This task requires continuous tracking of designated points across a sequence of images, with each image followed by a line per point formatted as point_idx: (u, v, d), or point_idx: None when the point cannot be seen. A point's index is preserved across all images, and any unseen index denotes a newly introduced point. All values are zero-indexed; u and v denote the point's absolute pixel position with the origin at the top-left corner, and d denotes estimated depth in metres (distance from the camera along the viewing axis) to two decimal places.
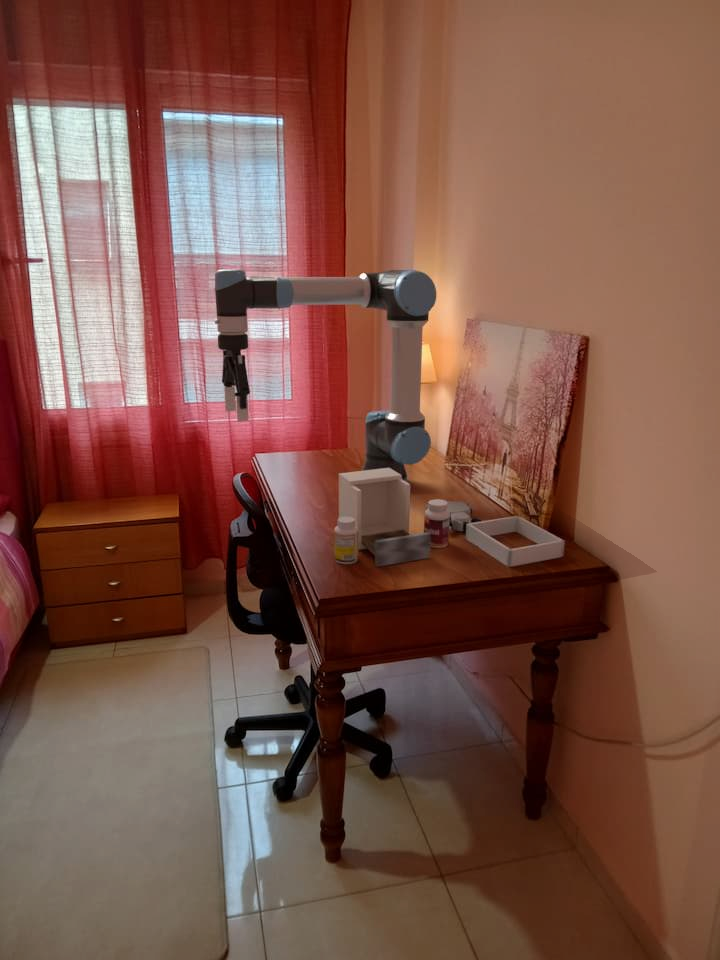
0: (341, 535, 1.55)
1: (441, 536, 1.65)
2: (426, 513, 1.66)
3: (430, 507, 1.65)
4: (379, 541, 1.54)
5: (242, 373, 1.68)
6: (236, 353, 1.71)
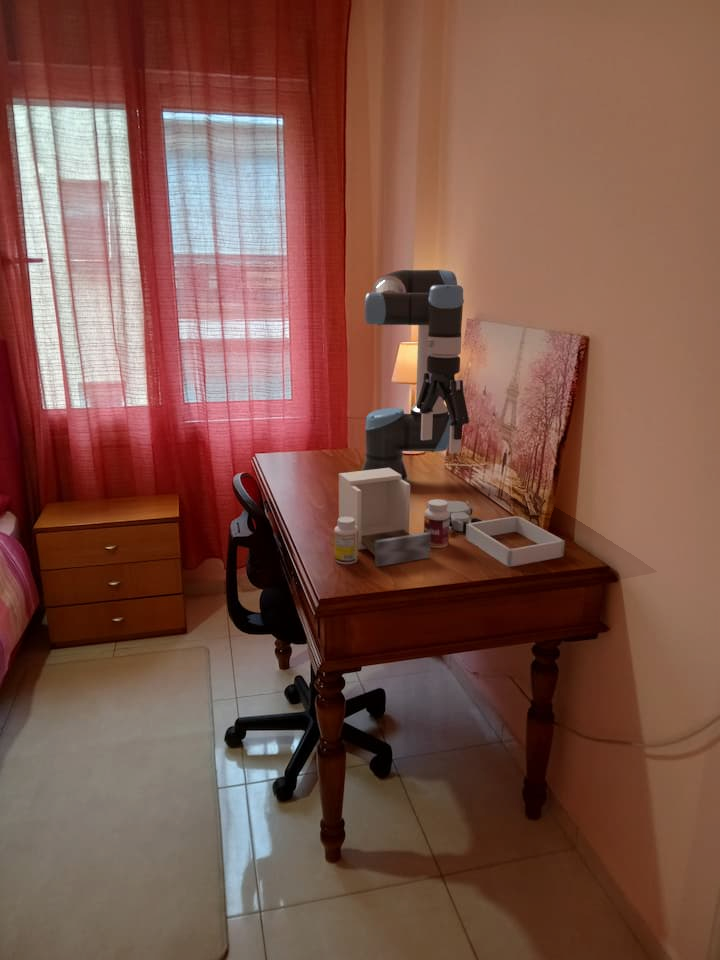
0: (341, 535, 1.55)
1: (441, 536, 1.65)
2: (426, 513, 1.66)
3: (430, 507, 1.65)
4: (379, 541, 1.54)
5: (460, 400, 1.51)
6: (450, 378, 1.53)
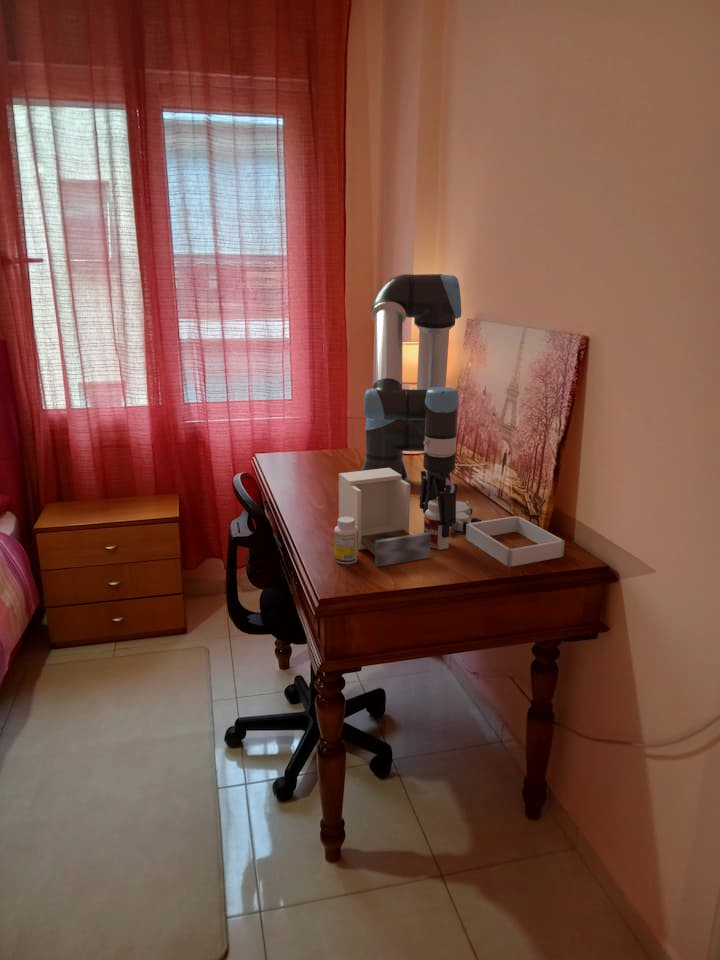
0: (341, 535, 1.55)
1: None
2: (426, 513, 1.66)
3: (430, 507, 1.65)
4: (379, 541, 1.54)
5: (451, 503, 1.60)
6: (446, 476, 1.60)
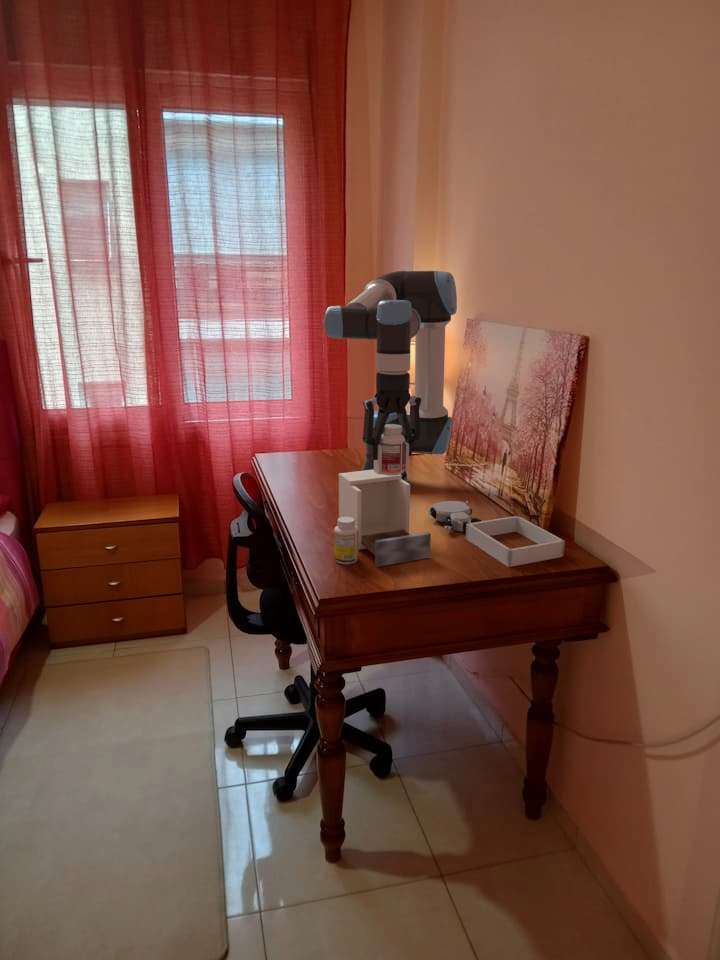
0: (341, 535, 1.55)
1: None
2: None
3: None
4: (379, 541, 1.54)
5: (366, 421, 1.53)
6: (377, 393, 1.52)
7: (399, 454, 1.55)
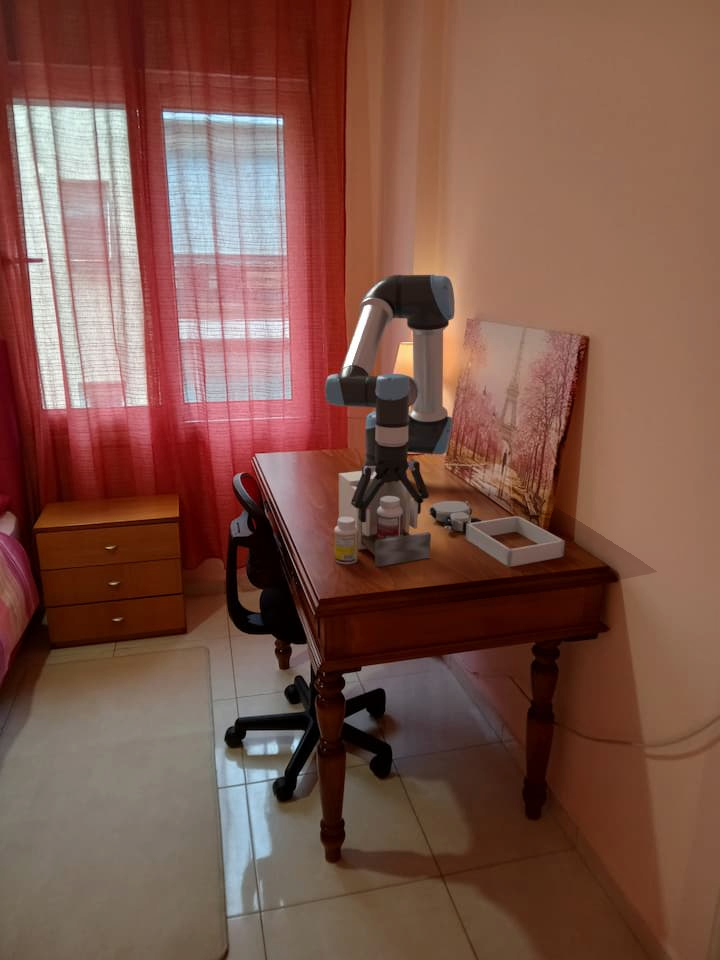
0: (341, 535, 1.55)
1: (377, 531, 1.62)
2: None
3: None
4: (379, 541, 1.54)
5: (360, 485, 1.57)
6: (376, 463, 1.57)
7: (397, 527, 1.60)
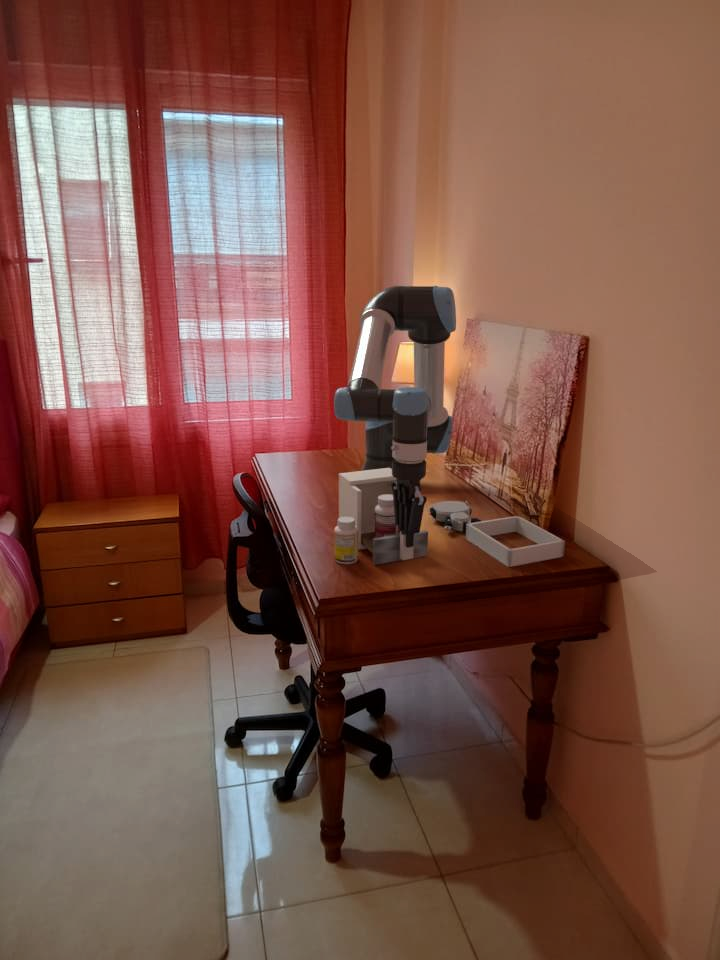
0: (341, 535, 1.55)
1: (375, 529, 1.63)
2: None
3: None
4: (377, 539, 1.55)
5: (418, 515, 1.49)
6: (415, 484, 1.48)
7: (395, 525, 1.61)
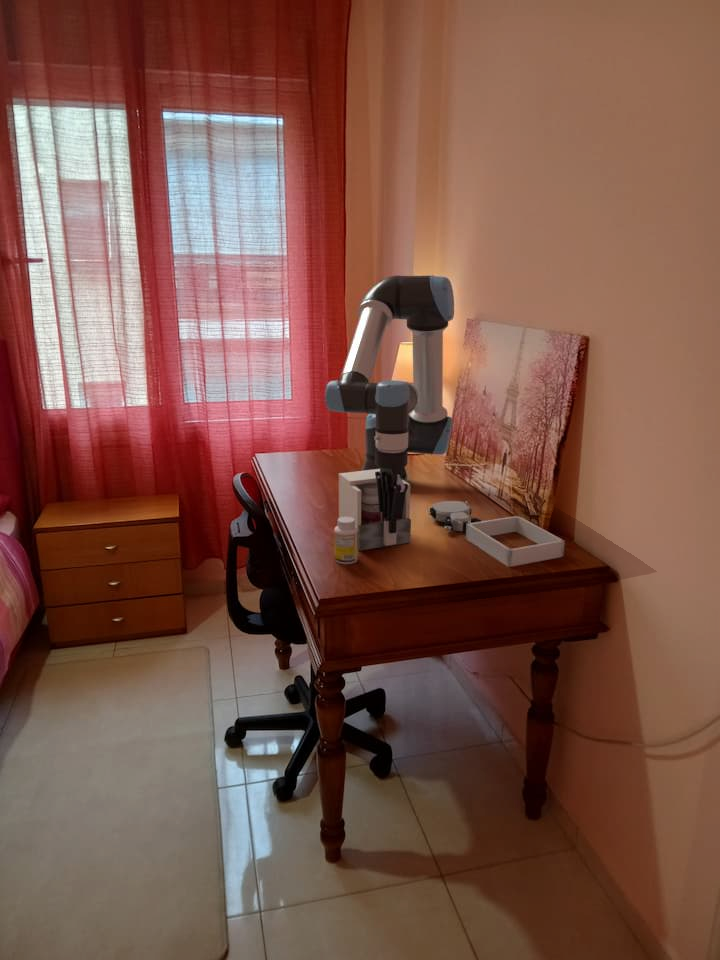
0: (341, 535, 1.55)
1: (361, 517, 1.71)
2: None
3: None
4: (361, 526, 1.63)
5: (400, 501, 1.57)
6: (397, 472, 1.56)
7: (380, 513, 1.69)
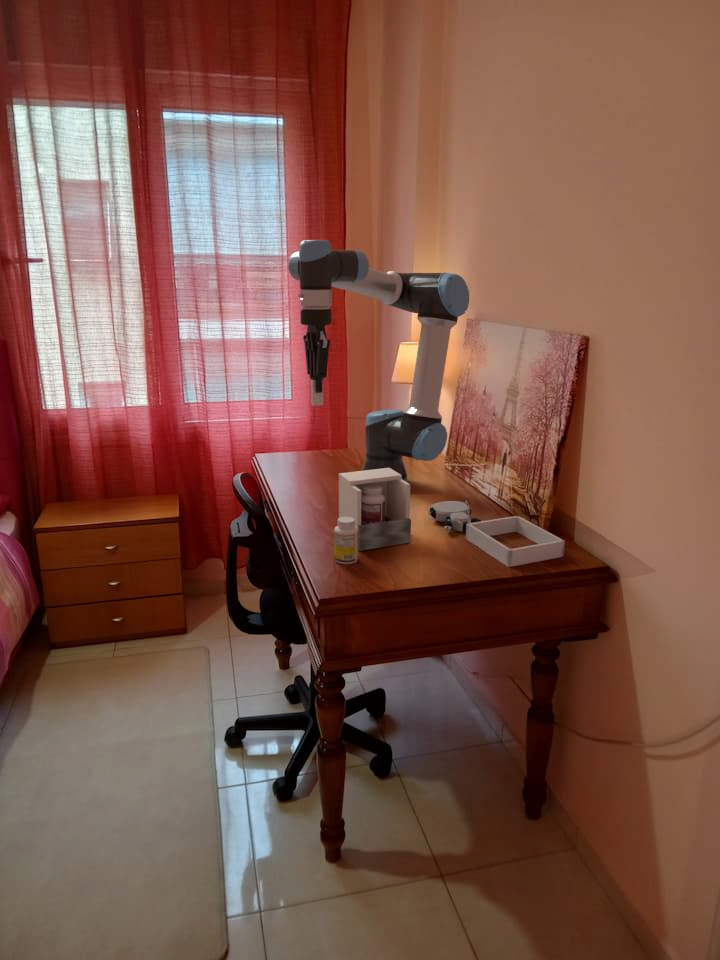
0: (341, 535, 1.55)
1: (361, 517, 1.71)
2: None
3: None
4: (362, 526, 1.63)
5: (323, 358, 1.63)
6: (320, 328, 1.62)
7: (380, 513, 1.69)
